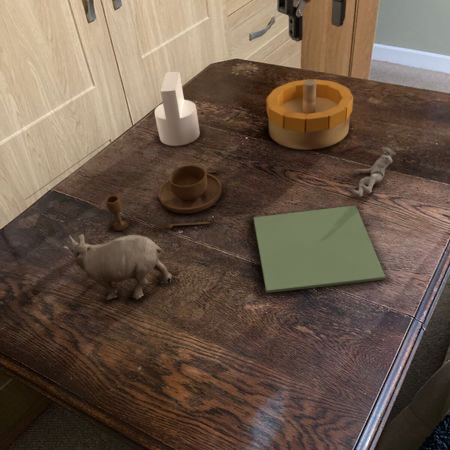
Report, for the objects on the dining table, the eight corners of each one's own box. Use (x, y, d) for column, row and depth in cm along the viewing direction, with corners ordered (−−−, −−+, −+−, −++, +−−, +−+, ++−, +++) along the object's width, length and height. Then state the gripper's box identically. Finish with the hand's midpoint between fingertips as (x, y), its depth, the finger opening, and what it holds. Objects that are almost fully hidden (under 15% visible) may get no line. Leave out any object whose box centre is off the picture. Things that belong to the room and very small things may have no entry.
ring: (340, 88, 109) (341, 75, 107) (360, 126, 97) (361, 112, 95) (263, 97, 109) (262, 85, 107) (273, 136, 98) (273, 123, 96)
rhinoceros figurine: (172, 300, 72) (97, 225, 66) (115, 328, 80) (43, 264, 74) (188, 267, 78) (120, 195, 71) (133, 297, 85) (68, 234, 79)
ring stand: (338, 105, 112) (342, 60, 105) (357, 144, 100) (362, 96, 93) (264, 114, 112) (262, 70, 105) (274, 154, 101) (273, 107, 93)
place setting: (222, 224, 87) (219, 197, 82) (111, 233, 88) (102, 206, 84) (222, 169, 99) (219, 142, 94) (124, 178, 100) (116, 152, 96)
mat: (355, 207, 86) (355, 205, 86) (385, 279, 74) (385, 277, 74) (253, 219, 87) (253, 217, 86) (266, 293, 75) (266, 290, 74)
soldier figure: (339, 196, 91) (360, 146, 94) (358, 211, 92) (377, 161, 96) (369, 182, 84) (390, 129, 88) (389, 199, 85) (408, 146, 89)
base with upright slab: (162, 126, 113) (151, 73, 104) (201, 123, 112) (193, 70, 103) (157, 147, 107) (145, 92, 98) (198, 144, 106) (190, 89, 97)
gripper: (297, -77, 65) (296, 51, 77) (378, -99, 69) (365, 25, 81) (264, -83, 70) (268, 39, 81) (342, -104, 74) (335, 15, 86)
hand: (317, 32), depth 81 cm, fingers open, 8 cm apart
